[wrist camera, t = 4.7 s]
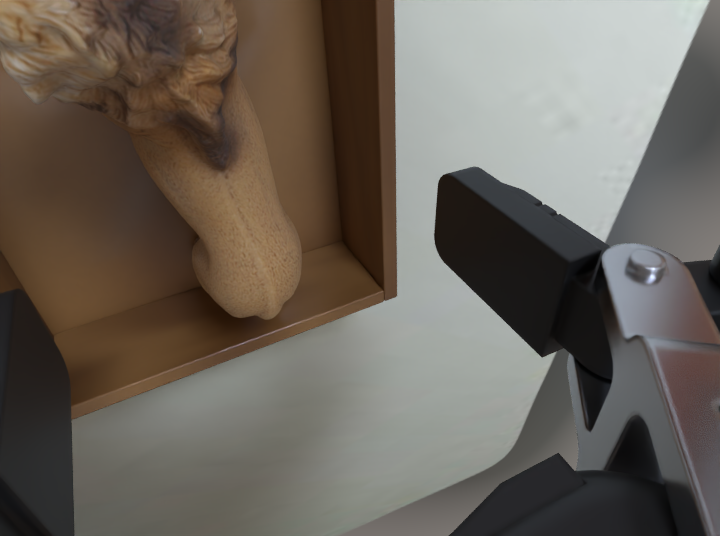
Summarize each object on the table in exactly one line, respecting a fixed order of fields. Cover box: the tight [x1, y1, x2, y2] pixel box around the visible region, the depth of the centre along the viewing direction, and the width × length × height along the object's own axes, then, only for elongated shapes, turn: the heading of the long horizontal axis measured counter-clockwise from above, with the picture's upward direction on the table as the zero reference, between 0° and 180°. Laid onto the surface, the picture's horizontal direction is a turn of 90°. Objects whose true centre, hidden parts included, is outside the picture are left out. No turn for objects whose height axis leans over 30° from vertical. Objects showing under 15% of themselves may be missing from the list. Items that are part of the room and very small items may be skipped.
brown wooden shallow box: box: [0, 0, 397, 420], centre depth 15 cm, size 13×16×4 cm
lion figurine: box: [0, 0, 302, 320], centre depth 13 cm, size 15×5×9 cm, turn 23°
